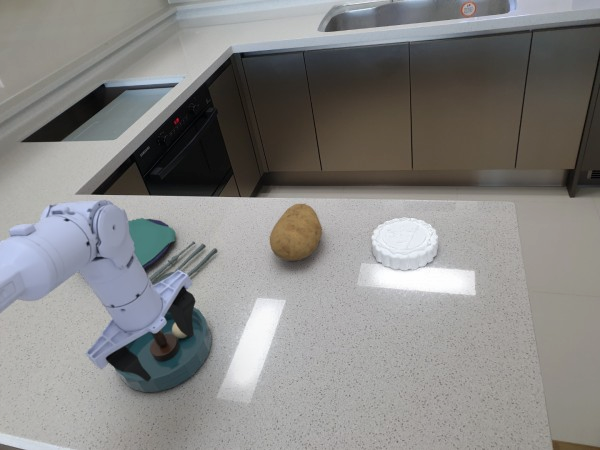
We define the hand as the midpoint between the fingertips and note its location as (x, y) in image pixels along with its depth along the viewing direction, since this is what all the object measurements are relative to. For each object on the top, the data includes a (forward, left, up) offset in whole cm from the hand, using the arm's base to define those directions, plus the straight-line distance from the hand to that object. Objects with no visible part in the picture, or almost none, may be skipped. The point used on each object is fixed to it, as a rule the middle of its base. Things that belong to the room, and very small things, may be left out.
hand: (166, 354), depth 61 cm
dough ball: (+7, +10, -9) cm, 15 cm away
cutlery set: (+16, +34, -11) cm, 39 cm away
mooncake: (+43, -12, -11) cm, 46 cm away
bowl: (+3, +10, -11) cm, 15 cm away
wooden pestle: (+4, +10, -10) cm, 15 cm away
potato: (+34, +6, -11) cm, 37 cm away
